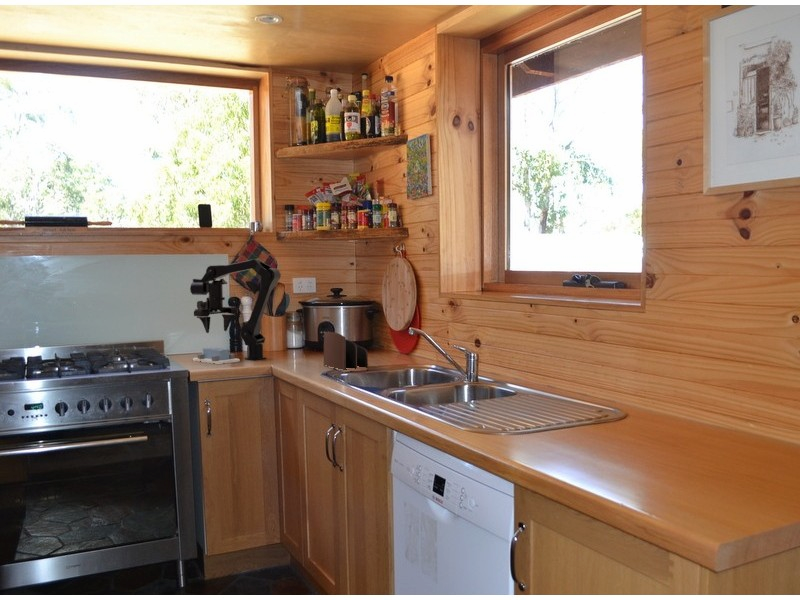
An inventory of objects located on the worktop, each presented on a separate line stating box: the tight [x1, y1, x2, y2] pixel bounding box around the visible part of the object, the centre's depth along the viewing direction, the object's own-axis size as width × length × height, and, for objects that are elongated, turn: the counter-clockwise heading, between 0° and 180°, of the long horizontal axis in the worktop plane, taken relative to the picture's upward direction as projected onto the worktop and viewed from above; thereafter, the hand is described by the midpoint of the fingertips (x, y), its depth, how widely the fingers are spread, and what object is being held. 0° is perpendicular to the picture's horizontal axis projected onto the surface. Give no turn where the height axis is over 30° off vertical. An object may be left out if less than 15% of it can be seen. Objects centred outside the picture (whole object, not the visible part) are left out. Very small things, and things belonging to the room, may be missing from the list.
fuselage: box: [202, 346, 230, 360], centre depth 297 cm, size 14×4×4 cm, turn 49°
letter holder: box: [323, 331, 369, 370], centre depth 273 cm, size 10×20×14 cm, turn 29°
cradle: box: [192, 353, 241, 365], centre depth 296 cm, size 18×10×3 cm, turn 49°
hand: (216, 331), depth 303 cm, fingers open, 9 cm apart
